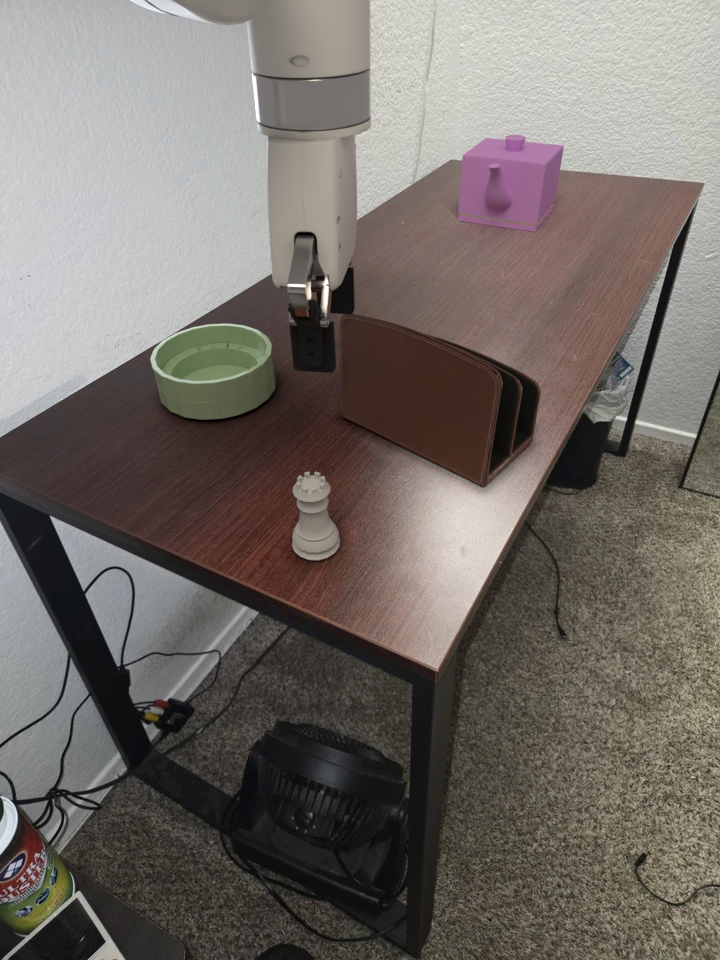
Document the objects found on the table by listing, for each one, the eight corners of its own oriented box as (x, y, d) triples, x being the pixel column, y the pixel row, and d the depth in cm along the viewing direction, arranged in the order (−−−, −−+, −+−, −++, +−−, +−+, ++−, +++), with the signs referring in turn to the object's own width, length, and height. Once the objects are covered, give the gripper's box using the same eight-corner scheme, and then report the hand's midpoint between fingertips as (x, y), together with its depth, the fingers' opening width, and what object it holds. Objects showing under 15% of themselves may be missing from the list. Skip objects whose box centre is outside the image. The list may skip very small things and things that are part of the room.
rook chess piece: (319, 571, 59) (313, 505, 53) (282, 549, 61) (273, 484, 56) (350, 542, 61) (347, 476, 56) (313, 522, 63) (307, 457, 58)
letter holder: (484, 489, 67) (500, 368, 58) (339, 418, 77) (333, 305, 68) (533, 443, 72) (555, 326, 63) (392, 382, 82) (394, 274, 73)
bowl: (170, 435, 75) (159, 394, 71) (153, 374, 85) (143, 336, 81) (289, 408, 79) (285, 368, 75) (260, 353, 89) (255, 315, 85)
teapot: (444, 233, 121) (449, 150, 112) (487, 193, 138) (494, 118, 129) (524, 245, 116) (536, 160, 107) (559, 202, 133) (572, 125, 124)
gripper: (286, 77, 50) (302, 292, 61) (217, 134, 37) (254, 393, 48) (385, 78, 49) (383, 295, 60) (350, 136, 36) (356, 400, 47)
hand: (326, 339), depth 54 cm, fingers open, 9 cm apart
